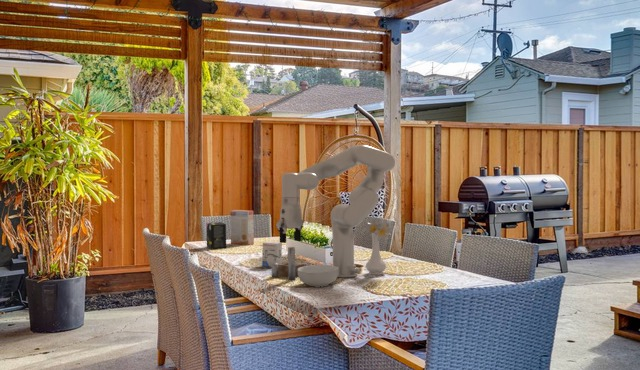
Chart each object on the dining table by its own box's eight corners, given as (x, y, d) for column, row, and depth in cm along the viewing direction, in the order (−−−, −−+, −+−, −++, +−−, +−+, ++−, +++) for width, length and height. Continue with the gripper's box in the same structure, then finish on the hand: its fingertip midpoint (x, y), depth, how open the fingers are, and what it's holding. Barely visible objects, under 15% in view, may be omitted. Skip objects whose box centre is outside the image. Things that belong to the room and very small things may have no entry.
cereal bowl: (315, 279, 256) (315, 263, 256) (346, 284, 246) (346, 267, 246) (289, 286, 243) (289, 268, 243) (320, 291, 233) (320, 273, 232)
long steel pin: (296, 279, 256) (296, 247, 255) (292, 280, 253) (292, 248, 253) (291, 279, 257) (291, 246, 257) (286, 280, 255) (286, 247, 254)
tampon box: (206, 247, 356) (206, 222, 355) (221, 246, 360) (221, 221, 359) (211, 249, 346) (210, 224, 345) (226, 248, 350) (226, 223, 349)
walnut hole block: (304, 274, 267) (304, 263, 266) (293, 277, 260) (293, 266, 260) (287, 272, 272) (287, 261, 272) (275, 275, 266) (275, 264, 266)
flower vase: (375, 278, 256) (374, 220, 255) (355, 271, 273) (354, 217, 272) (401, 276, 262) (400, 219, 260) (379, 269, 278) (379, 216, 277)
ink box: (261, 266, 290) (261, 242, 289) (267, 264, 294) (267, 240, 293) (276, 267, 286) (276, 243, 285) (282, 265, 290) (282, 241, 289)
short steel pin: (279, 277, 262) (279, 263, 262) (275, 278, 260) (275, 264, 259) (274, 276, 264) (274, 262, 264) (270, 277, 261) (269, 263, 261)
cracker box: (254, 244, 366) (253, 210, 365) (248, 245, 361) (247, 211, 360) (236, 242, 374) (236, 209, 373) (230, 243, 369) (229, 210, 368)
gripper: (284, 202, 245) (283, 244, 245) (309, 201, 259) (309, 240, 259) (270, 202, 249) (270, 242, 250) (296, 200, 263) (296, 239, 264)
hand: (290, 241), depth 254 cm, fingers open, 9 cm apart
